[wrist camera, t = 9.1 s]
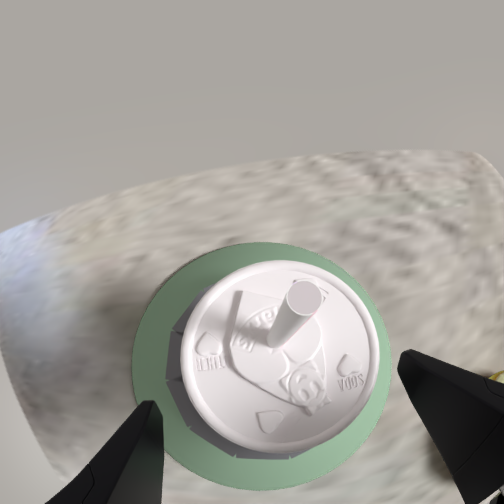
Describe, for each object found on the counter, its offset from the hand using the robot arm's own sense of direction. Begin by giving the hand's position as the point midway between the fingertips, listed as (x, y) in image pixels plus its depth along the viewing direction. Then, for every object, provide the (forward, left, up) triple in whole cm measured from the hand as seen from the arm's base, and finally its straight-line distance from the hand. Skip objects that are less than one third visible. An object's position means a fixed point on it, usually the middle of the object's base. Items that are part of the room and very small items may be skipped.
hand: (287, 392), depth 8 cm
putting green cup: (+1, 0, -9) cm, 9 cm away
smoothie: (+1, 0, -9) cm, 9 cm away
